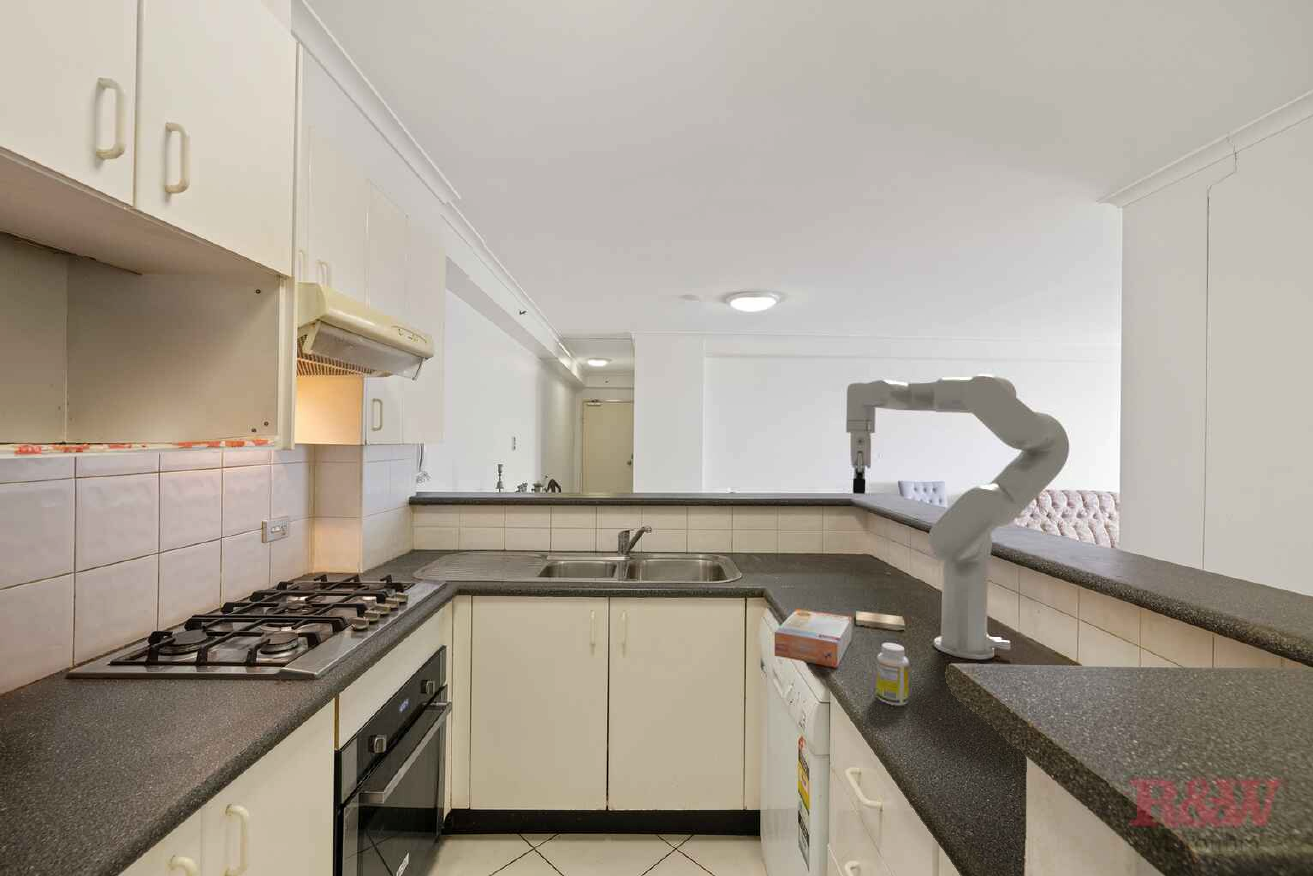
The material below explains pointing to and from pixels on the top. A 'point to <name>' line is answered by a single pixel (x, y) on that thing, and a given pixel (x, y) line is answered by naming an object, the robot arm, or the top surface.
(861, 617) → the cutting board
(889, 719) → the top surface
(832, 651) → the cracker box
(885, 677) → the supplement bottle
